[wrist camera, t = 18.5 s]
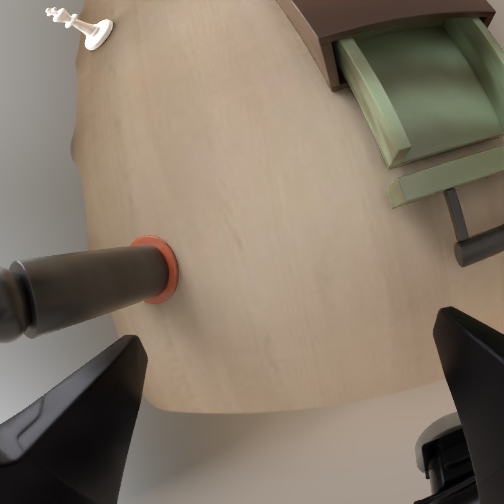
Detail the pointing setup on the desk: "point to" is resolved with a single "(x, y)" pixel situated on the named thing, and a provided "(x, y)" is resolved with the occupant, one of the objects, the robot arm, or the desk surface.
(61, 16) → the chess piece
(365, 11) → the cabinet
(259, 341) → the desk surface
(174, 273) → the coaster
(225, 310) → the desk surface
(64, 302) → the pepper mill
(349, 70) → the drawer
